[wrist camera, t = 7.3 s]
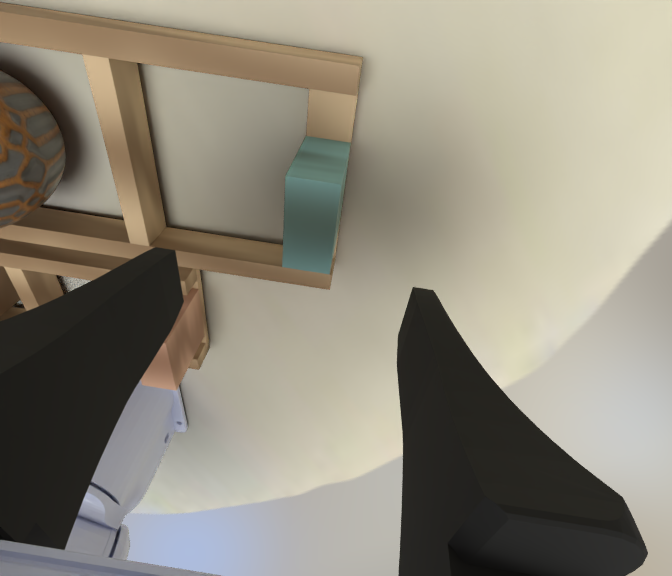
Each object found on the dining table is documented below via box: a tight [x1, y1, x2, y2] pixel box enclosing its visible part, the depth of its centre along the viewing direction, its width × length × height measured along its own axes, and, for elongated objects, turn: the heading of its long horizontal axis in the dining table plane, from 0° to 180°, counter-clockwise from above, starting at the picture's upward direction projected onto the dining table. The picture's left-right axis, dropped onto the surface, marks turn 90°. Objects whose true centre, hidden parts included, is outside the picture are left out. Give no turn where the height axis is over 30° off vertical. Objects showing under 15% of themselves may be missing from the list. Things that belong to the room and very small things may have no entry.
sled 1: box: [0, 3, 363, 290], centre depth 17 cm, size 10×20×5 cm, turn 83°
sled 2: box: [0, 238, 210, 391], centre depth 23 cm, size 8×20×5 cm, turn 83°
